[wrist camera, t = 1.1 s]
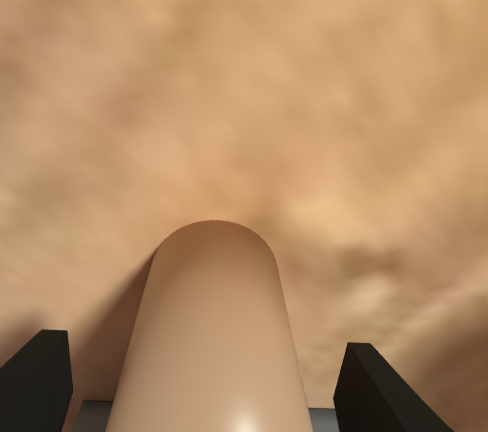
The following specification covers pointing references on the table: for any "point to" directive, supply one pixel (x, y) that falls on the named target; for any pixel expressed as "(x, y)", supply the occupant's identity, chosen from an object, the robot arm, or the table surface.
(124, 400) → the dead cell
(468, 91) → the table surface
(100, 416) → the bin
